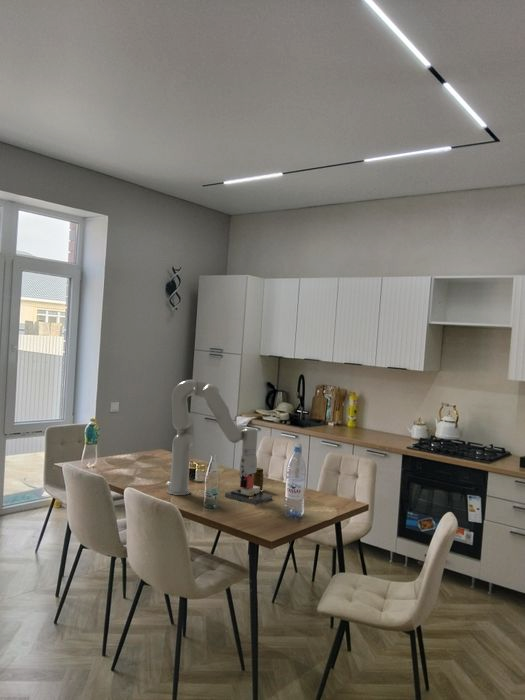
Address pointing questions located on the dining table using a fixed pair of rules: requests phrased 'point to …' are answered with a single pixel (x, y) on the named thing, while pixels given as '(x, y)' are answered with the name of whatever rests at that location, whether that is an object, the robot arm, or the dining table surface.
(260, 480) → the condiment
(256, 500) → the panel
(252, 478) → the cap
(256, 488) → the breaker
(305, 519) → the dining table surface
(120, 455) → the dining table surface
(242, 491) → the breaker
